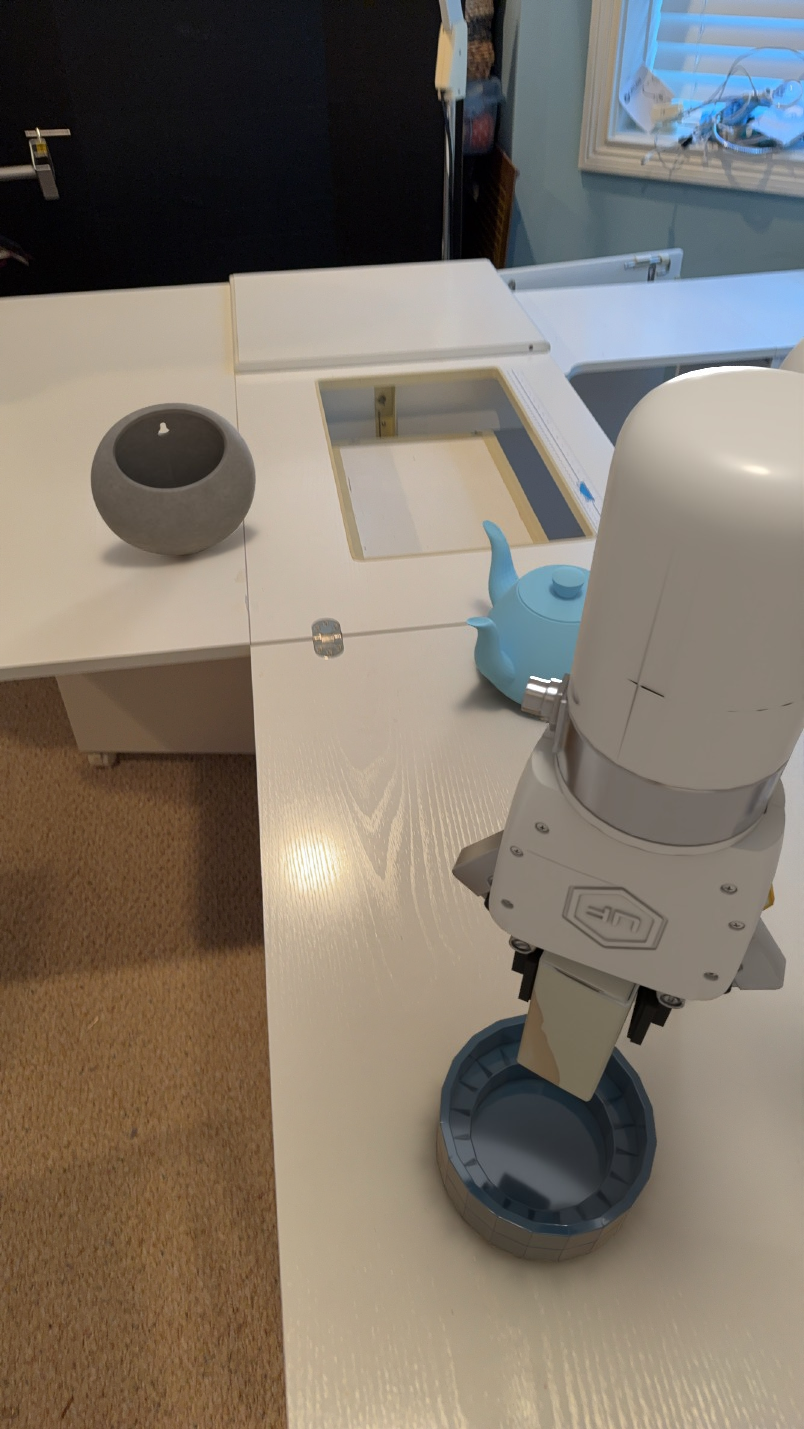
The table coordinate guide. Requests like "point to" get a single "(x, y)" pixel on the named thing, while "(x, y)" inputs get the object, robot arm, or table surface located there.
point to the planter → (173, 479)
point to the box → (573, 1023)
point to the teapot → (527, 620)
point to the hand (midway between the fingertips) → (586, 994)
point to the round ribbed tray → (541, 1149)
